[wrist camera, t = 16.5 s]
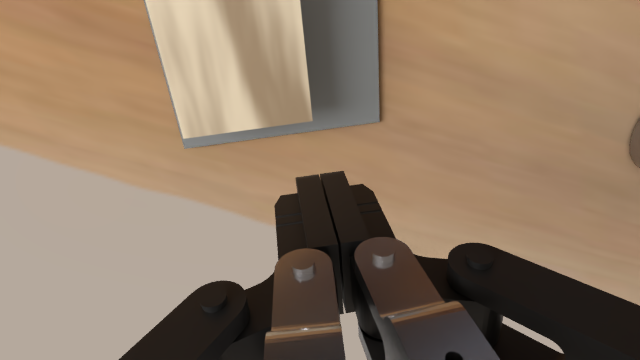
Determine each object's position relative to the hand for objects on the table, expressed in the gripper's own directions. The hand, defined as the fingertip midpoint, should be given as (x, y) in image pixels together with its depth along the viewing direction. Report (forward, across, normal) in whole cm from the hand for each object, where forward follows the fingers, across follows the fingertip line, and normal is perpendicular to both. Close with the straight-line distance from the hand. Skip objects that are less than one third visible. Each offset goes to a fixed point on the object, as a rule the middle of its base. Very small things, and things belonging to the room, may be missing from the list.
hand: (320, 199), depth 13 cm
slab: (+18, -1, -1) cm, 18 cm away
